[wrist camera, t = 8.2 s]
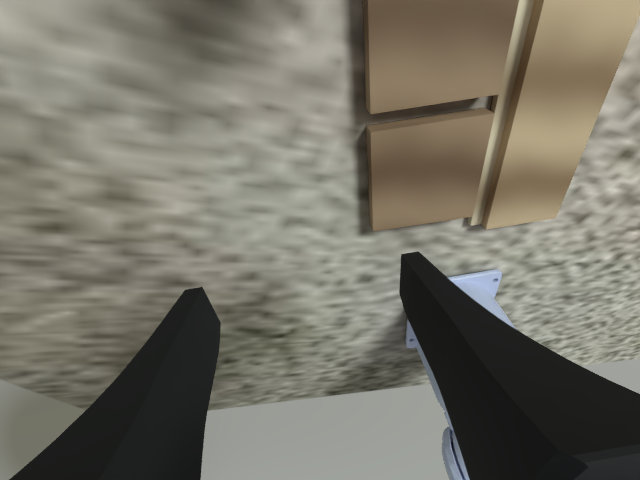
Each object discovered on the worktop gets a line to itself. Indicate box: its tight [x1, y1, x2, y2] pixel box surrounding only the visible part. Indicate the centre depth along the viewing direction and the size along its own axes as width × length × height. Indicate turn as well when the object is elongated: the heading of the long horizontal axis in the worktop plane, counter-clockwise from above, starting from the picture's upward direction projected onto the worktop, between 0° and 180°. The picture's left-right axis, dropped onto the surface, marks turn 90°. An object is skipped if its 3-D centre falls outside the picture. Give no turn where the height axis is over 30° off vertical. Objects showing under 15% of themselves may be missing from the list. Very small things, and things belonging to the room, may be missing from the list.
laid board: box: [467, 0, 640, 229], centre depth 18 cm, size 18×6×1 cm, turn 7°
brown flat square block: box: [366, 108, 495, 231], centre depth 20 cm, size 7×7×1 cm
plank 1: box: [363, 0, 519, 114], centre depth 15 cm, size 7×7×1 cm
